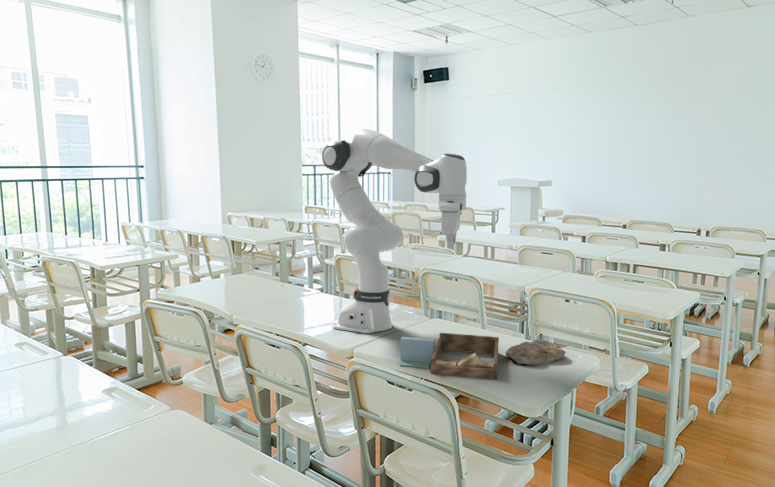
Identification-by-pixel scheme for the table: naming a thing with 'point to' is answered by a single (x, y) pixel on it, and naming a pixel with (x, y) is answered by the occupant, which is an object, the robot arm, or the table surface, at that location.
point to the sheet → (416, 349)
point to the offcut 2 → (484, 365)
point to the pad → (415, 364)
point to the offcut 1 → (446, 362)
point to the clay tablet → (535, 352)
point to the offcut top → (469, 361)
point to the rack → (466, 345)
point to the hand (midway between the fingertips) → (451, 246)
